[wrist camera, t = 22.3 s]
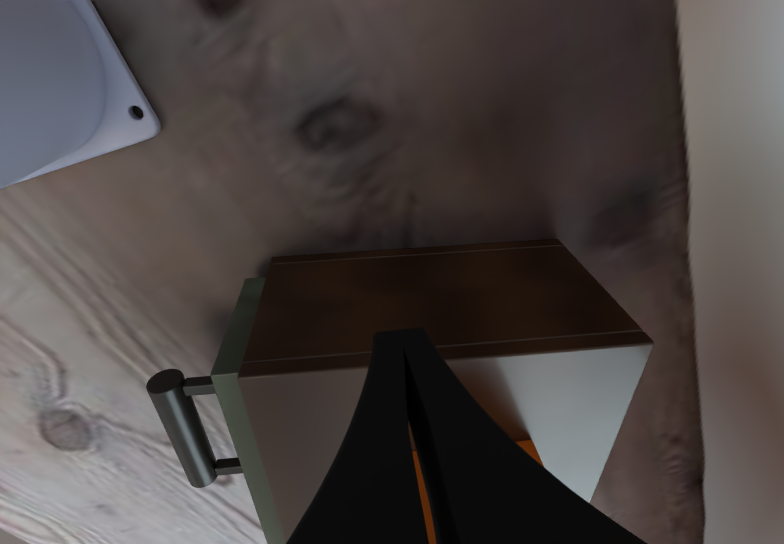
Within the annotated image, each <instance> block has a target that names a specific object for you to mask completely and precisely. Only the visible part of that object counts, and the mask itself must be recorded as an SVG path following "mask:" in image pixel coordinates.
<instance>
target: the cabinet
mask: <svg viewBox="0 0 784 544" xmlns="http://www.w3.org/2000/svg"><path fill="white" fill-rule="evenodd" d="M417 327H423V328H424V329H426V330H427V332H428V334H429V336H430V338H431V340H432V341H433V343H434V345H435V346H436V348H437V349H438V351H439V353H440V354H441V356H442V357H443V358H444V360H445V361H446V363H447V364H448V366H449V367H450V368H451V370H452V371H453V372H454V374H455V375H456V376H457V378H458V379H459V380H460V382H461V383H462V384H463V385H464V387H465V388H466V389H467V390H468V392H469V393H470V394H471V395H472V396H473V398H474V399H475V400H476V401H477V402H478V403H479V405H480V406H481V407H482V408H483V409H484V410H485V411H486V412H487V414H488V415H489V416H490V417H491V418H492V419H493V420H494V421H495V422H496V423H497V424H498V425H499V426H500V427H501V428H502V429H503V430H504V431H505V432H506V433H507V434H508V435H509V436H510V437H511V438H512V439H513V440H514V441H523V440H532V441H533V442H534V445H535V447H536V449H537V451H538V454H539V456H540V458H541V461H542V463H543V465H544V467H545V468H546V469H547V470H548V471H549V472H550V473H552V474H553V475H554V476H555V477H556V478H558V479H559V480H560V481H561V482H562V483H564V484H565V485H566V486H567V487H568V488H570V489H571V490H572V491H574V492H575V493H576V494H578V495H579V496H580V497H582V498H583V499H584V500H586V501H587V502H588V503H590V502H591V499H592V497H593V494H594V492H595V489H596V487H597V485H598V482H599V480H600V477H601V475H602V472H603V470H604V467H605V465H606V462H607V460H608V457H609V455H610V452H611V450H612V448H613V445H614V443H615V440H616V438H617V435H618V433H619V430H620V428H621V425H622V423H623V420H624V418H625V416H626V413H627V411H628V408H629V406H630V403H631V401H632V398H633V396H634V393H635V391H636V388H637V386H638V384H639V381H640V379H641V376H642V374H643V371H644V369H645V366H646V364H647V361H648V359H649V356H650V354H651V352H652V349H653V347H654V342H653V341H652V339H651V338H650V337H649V336H648V335H647V334H646V333H645V332H643V330H642V329H641V328H640V327H639V325H638V324H637V323H636V322H635V321H634V320H633V319H632V318H631V317H630V316H629V315H628V314H627V313H626V312H625V310H624V309H623V308H622V307H621V306H620V305H619V304H618V303H617V302H616V301H615V300H614V299H613V298H612V297H611V295H610V294H609V293H608V292H607V291H606V290H605V289H604V288H603V287H602V286H601V285H600V284H599V283H598V282H597V280H596V279H595V278H594V277H593V276H592V275H591V274H590V273H589V272H588V271H587V270H586V269H585V268H584V267H583V265H582V264H581V263H580V262H579V261H578V260H577V259H576V258H575V257H574V256H573V255H572V254H571V253H570V252H569V250H568V249H567V248H566V247H565V246H563V244H562V243H561V242H560V241H559V240H558V239H550V240H534V241H519V242H503V243H487V244H472V245H456V246H440V247H424V248H409V249H393V250H377V251H361V252H346V253H330V254H314V255H299V256H283V257H272V258H271V261H270V265H269V269H268V272H267V276H266V279H265V283H264V286H263V289H262V293H261V296H260V300H259V303H258V307H257V310H256V314H255V317H254V321H253V324H252V328H251V331H250V334H249V338H248V341H247V345H246V348H245V352H244V355H243V359H242V362H241V366H240V369H239V373H238V376H237V380H238V383H239V387H240V390H241V393H242V397H243V400H244V404H245V407H246V410H247V414H248V417H249V420H250V424H251V427H252V431H253V434H254V437H255V441H256V444H257V447H258V451H259V454H260V458H261V461H262V464H263V468H264V471H265V474H266V478H267V481H268V485H269V488H270V491H271V495H272V498H273V502H274V505H275V508H276V512H277V515H278V518H279V522H280V525H281V529H282V532H283V535H284V539H285V542H286V543H287V541H288V539H289V538H290V536H291V535H292V533H293V531H294V530H295V528H296V526H297V525H298V523H299V522H300V520H301V518H302V517H303V515H304V513H305V512H306V510H307V509H308V507H309V505H310V504H311V502H312V500H313V499H314V497H315V495H316V493H317V491H318V490H319V488H320V486H321V484H322V482H323V480H324V478H325V476H326V474H327V473H328V471H329V469H330V467H331V465H332V463H333V461H334V459H335V457H336V455H337V452H338V450H339V448H340V446H341V444H342V442H343V439H344V437H345V435H346V432H347V430H348V428H349V425H350V423H351V420H352V417H353V415H354V412H355V409H356V406H357V404H358V401H359V398H360V395H361V392H362V389H363V385H364V382H365V378H366V375H367V371H368V367H369V363H370V358H371V353H372V345H373V335H374V334H375V333H376V332H382V331H391V330H399V329H408V328H417ZM409 435H410V441H411V447H412V451H416V448H415V444H414V440H413V436H412V432H411V428H410V424H409Z"/></svg>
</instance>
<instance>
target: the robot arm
mask: <svg viewBox="0 0 784 544" xmlns="http://www.w3.org/2000/svg"><path fill="white" fill-rule="evenodd" d="M133 106H137V107H139V108H140V109H141V110H142V111H143V114H144V115H143V118H140V117H137V116H136V115H135V114H134V112H133ZM160 129H161V125H160V122H159V119H158V118H157V116H156V114H155V112H154V111H153V109H152V107H151V105H150V104H149V102H148V100H147V98H146V97H145V95H144V93H143V91H142V90H141V88H140V86H139V84H138V83H137V81H136V79H135V77H134V76H133V74H132V72H131V70H130V69H129V67H128V65H127V63H126V62H125V60H124V58H123V56H122V55H121V53H120V51H119V49H118V48H117V46H116V44H115V42H114V41H113V39H112V37H111V35H110V34H109V32H108V30H107V28H106V27H105V25H104V23H103V21H102V20H101V18H100V16H99V14H98V13H97V11H96V9H95V7H94V6H93V4H92V2H91V0H0V190H1V189H3V188H5V187H6V186H9V185H12V184H15V183H18V182H21V181H24V180H27V179H30V178H33V177H36V176H39V175H42V174H45V173H48V172H51V171H54V170H57V169H60V168H63V167H66V166H69V165H72V164H75V163H78V162H81V161H84V160H87V159H90V158H93V157H96V156H99V155H102V154H105V153H108V152H111V151H114V150H117V149H120V148H123V147H126V146H129V145H132V144H135V143H138V142H141V141H144V140H147V139H150V138H152V137H154V136H156V135H157V134H158V133H159V132H160ZM409 424H410V428H411V432H412V436H413V440H414V444H415V448H416V452H417V456H418V460H419V464H420V468H421V472H422V476H423V480H424V485H425V489H426V493H427V497H428V501H429V505H430V510H431V515H432V520H433V526H434V533H435V539H436V544H647V543H646V542H644V541H643V540H641V539H639V538H638V537H637V536H635V535H634V534H632V533H631V532H629V531H628V530H626V529H625V528H623V527H622V526H620V525H619V524H617V523H616V522H615V521H613V520H612V519H610V518H609V517H607V516H606V515H605V514H603V513H602V512H600V511H599V510H598V509H596V508H595V507H594V506H592V505H591V504H590V503H588V502H587V501H586V500H584V499H583V498H582V497H580V496H579V495H578V494H576V493H575V492H574V491H572V490H571V489H570V488H568V487H567V486H566V485H565V484H564V483H562V482H561V481H560V480H559V479H558V478H556V477H555V476H554V475H553V474H552V473H550V472H549V471H548V470H547V469H546V468H544V467H543V466H542V465H541V464H540V463H538V462H537V461H536V460H535V459H534V458H532V457H531V456H530V455H529V454H528V453H527V452H526V451H525V450H524V449H523V448H522V447H520V446H519V445H518V444H517V443H516V442H515V441H514V440H513V439H512V438H511V437H510V436H509V435H508V434H507V433H506V432H505V431H504V430H503V429H502V428H501V427H500V426H499V425H498V424H497V423H496V422H495V421H494V420H493V419H492V418H491V417H490V416H489V415H488V414H487V412H486V411H485V410H484V409H483V408H482V407H481V406H480V405H479V403H478V402H477V401H476V400H475V399H474V398H473V396H472V395H471V394H470V393H469V392H468V390H467V389H466V388H465V387H464V385H463V384H462V383H461V382H460V380H459V379H458V378H457V376H456V375H455V374H454V372H453V371H452V370H451V368H450V367H449V366H448V364H447V363H446V361H445V360H444V358H443V357H442V356H441V354H440V353H439V351H438V349H437V348H436V346H435V345H434V343H433V341H432V340H431V338H430V336H429V334H428V332H427V330H426V329H424V328H423V327H417V328H408V329H399V330H391V331H382V332H376V333H375V334H374V335H373V345H372V353H371V358H370V363H369V367H368V371H367V375H366V378H365V382H364V385H363V389H362V392H361V395H360V398H359V401H358V404H357V406H356V409H355V412H354V415H353V417H352V420H351V423H350V425H349V428H348V430H347V432H346V435H345V437H344V439H343V442H342V444H341V446H340V448H339V450H338V452H337V455H336V457H335V459H334V461H333V463H332V465H331V467H330V469H329V471H328V473H327V474H326V476H325V478H324V480H323V482H322V484H321V486H320V488H319V490H318V491H317V493H316V495H315V497H314V499H313V500H312V502H311V504H310V505H309V507H308V509H307V510H306V512H305V513H304V515H303V517H302V518H301V520H300V522H299V523H298V525H297V526H296V528H295V530H294V531H293V533H292V535H291V536H290V538H289V539H288V541H287V543H286V544H429V540H428V535H427V530H426V524H425V519H424V513H423V508H422V503H421V497H420V492H419V486H418V481H417V475H416V469H415V464H414V458H413V452H412V447H411V441H410V435H409Z"/></svg>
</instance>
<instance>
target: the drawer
mask: <svg viewBox="0 0 784 544" xmlns="http://www.w3.org/2000/svg"><path fill="white" fill-rule="evenodd" d="M265 279H266V277H262V278H247V279H245V281H244V284H243V287H242V289H241V292H240V295H239V298H238V300H237V303H236V306H235V309H234V311H233V314H232V317H231V320H230V322H229V325H228V328H227V331H226V333H225V336H224V339H223V342H222V344H221V347H220V350H219V353H218V355H217V358H216V361H215V364H214V366H213V369H212V372H211V375H210V376H204V377H192V378H186V379H185V378H184V375H183V373H182V372H181V371H180V370H177V369H167V370H163V371H161V372H159V373H157V374H155V375H154V376H153V377H151V378H150V380H149V381H148V383H147V386H146V388H147V391H148V393H149V395H150V397H151V400H152V402H153V404H154V406H155V408H156V410H157V413H158V415H159V417H160V419H161V421H162V423H163V426H164V428H165V430H166V432H167V434H168V436H169V439H170V441H171V443H172V445H173V447H174V449H175V452H176V454H177V456H178V458H179V460H180V462H181V465H182V467H183V469H184V471H185V473H186V475H187V478H188V480H189V482H190V484H191V485H192V486H194V487H196V488H202V487H205V486H208V485H209V484H211V483H212V482H213V481H214V480H215V479H216V478H217V476H218V475H228V474H238V473H244V476H245V479H246V482H247V485H248V488H249V491H250V494H251V496H252V499H253V502H254V505H255V508H256V511H257V514H258V517H259V520H260V523H261V526H262V529H263V532H264V535H265V538H266V540H267V543H268V544H286V542H285V539H284V535H283V532H282V529H281V525H280V522H279V518H278V515H277V512H276V508H275V505H274V502H273V498H272V495H271V491H270V488H269V485H268V481H267V478H266V474H265V471H264V468H263V464H262V461H261V458H260V454H259V451H258V447H257V444H256V441H255V437H254V434H253V431H252V427H251V424H250V420H249V417H248V414H247V410H246V407H245V404H244V400H243V397H242V393H241V390H240V387H239V383H238V380H237V376H238V373H239V369H240V366H241V362H242V359H243V355H244V352H245V348H246V345H247V341H248V338H249V334H250V331H251V328H252V324H253V321H254V317H255V314H256V310H257V307H258V303H259V300H260V296H261V293H262V289H263V286H264V283H265ZM215 393H216V394H217V397H218V400H219V403H220V405H221V408H222V411H223V414H224V417H225V420H226V423H227V426H228V429H229V432H230V435H231V438H232V441H233V444H234V447H235V449H236V452H237V455H238V458H228V459H218V460H217V461H216V458H215V456H214V453H213V450H212V448H211V445H210V443H209V440H208V437H207V435H206V432H205V430H204V427H203V425H202V422H201V419H200V417H199V414H198V412H197V409H196V406H195V404H194V401H193V399H192V395H203V394H215Z"/></svg>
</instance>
